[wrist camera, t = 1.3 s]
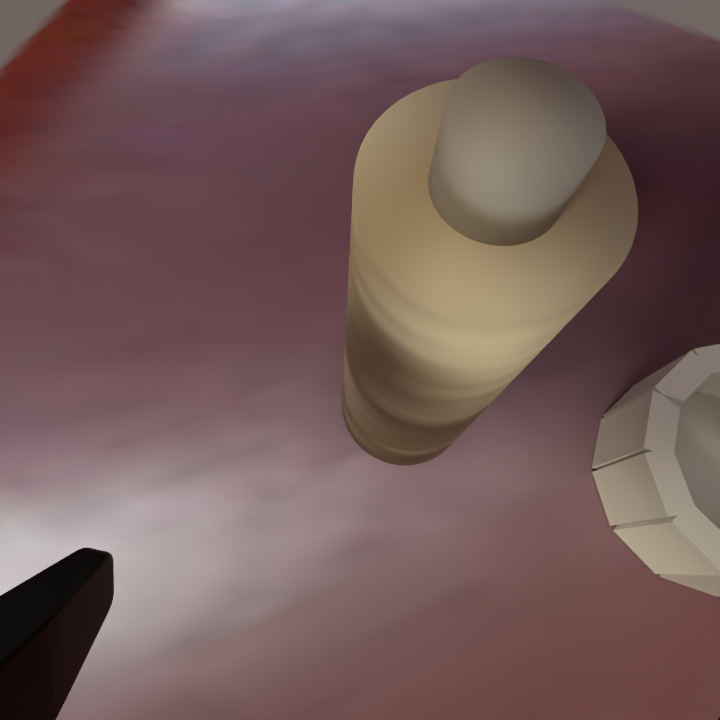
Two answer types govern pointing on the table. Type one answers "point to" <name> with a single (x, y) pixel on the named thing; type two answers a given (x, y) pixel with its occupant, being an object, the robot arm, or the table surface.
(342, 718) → the table surface
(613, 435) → the socket
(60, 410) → the table surface
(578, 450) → the table surface
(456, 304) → the pepper mill
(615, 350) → the table surface
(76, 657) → the robot arm
